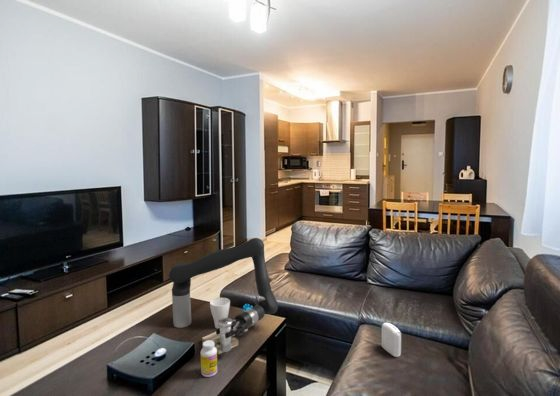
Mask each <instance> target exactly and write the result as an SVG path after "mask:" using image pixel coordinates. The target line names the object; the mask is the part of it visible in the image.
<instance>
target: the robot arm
mask: <svg viewBox="0 0 560 396" xmlns="http://www.w3.org/2000/svg"><path fill="white" fill-rule="evenodd" d="M248 258H251V259H252V262H253V267H254V278H255V285H256V289H257V290H256V291H257V294H258V296H260V297H263V298H264V299H262V300H260V301H258V302H257V303H256V304H255V305H254V306H253V307H252V308H250V309H248V310H246V311H244V312H243V311H242V312H240V313H239V314H237V315H235V317H234V319H232V325H231V330H230V331H229V332H227V333H225V338H229V337H231V336H233V337H234V336H236V337H239V336H243V335H244V334H247V333H248V332H249V328H250V327H252V326H254V325H255V324H257V322H259V321H261V320H262V319H263V318H264V317H265V315H271V314H272V315H273V314H274V315H275V313H277V311H278V308H279V305H278V301H277V298H276V296H275V294H274V292H273V291H272V286H271V284H270V283H271V282H270V279H269V278H270V277H269V274H268V270H267V265H266V259H265V243H264V241H263V240H262V239H261V238H259V237H253V238H251V239H249V240H247V241H245V242H243V243H240V244H238V245H235V246H232V247H227V248H222V249H219V250H215V251H213V252H209V253H207V254H205V255H203V256H202V257H199V258H198V259H196V260H194V261H193V262H190V263H186V262H184V261H179V262H177V263H176V264H174V265H173V266H172V268H171V269H170V270H169V271H168V278H169V280H170V281H171V282H172V287H171V299H172V300H171V301H172V322H173V326H174V328H179V329H181V328H186V327H189V326H190V325H192V310H191V305H192V304H191V303H192V302H191V286H192V285H191V283H192V281H191V280H192V279H193V278H194V277H196V276H200V275H204V274H207V273H210V272H213V271H217V270H220V269H222V268H225V267H227V266H230V265H232V264H234V263H236V262H238V261H241V260H244V259H248ZM215 329H216V330H215V332H216V334H220V328H218V329H217V328H215Z"/></svg>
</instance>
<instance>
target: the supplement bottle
mask: <svg viewBox="0 0 560 396" xmlns="http://www.w3.org/2000/svg"><path fill="white" fill-rule="evenodd" d="M200 373H201V376H203V377H205V378H211V377H213V376H215V375H216V374H217V373H218V353H217V349H216V348H215V347H214V341H212V340H208V341H205V342H204V343H202V348H201V350H200Z"/></svg>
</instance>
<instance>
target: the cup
mask: <svg viewBox="0 0 560 396" xmlns="http://www.w3.org/2000/svg"><path fill="white" fill-rule="evenodd" d="M209 307H210V308H209V309H210V312H211V315H212V317H213V321H214V327H215V329H218V328H220V327H219V325H218V321H219V320H220V319H222V318H229V313H230V308H231V299H229V298H227V297H218V298H213V299H212V300H211V301H209Z"/></svg>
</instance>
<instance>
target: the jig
mask: <svg viewBox="0 0 560 396" xmlns="http://www.w3.org/2000/svg"><path fill="white" fill-rule="evenodd" d="M201 338H202V339H201V341H202V344H203V343H204V342H205V341H208V340H212V341H214V347H215V348H216V349H217V355H221V354H222V353H224V352H222V351H221V350H220V344H219V343H220V334H216V331H214V332H211V333H210V334H208V335H206V336H203V337H201ZM237 346H239V339H238V338H236V337H234V336H233V335H232V336H231V349H233V348H235V347H237Z"/></svg>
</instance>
